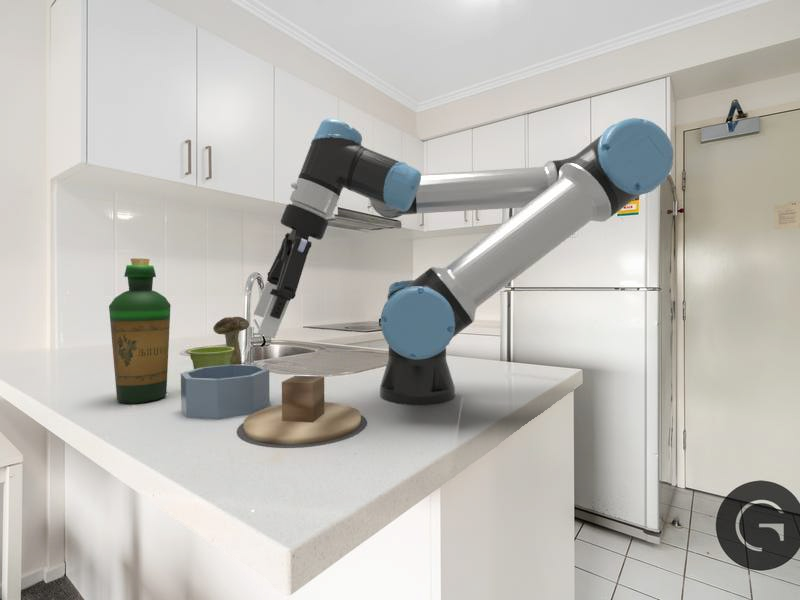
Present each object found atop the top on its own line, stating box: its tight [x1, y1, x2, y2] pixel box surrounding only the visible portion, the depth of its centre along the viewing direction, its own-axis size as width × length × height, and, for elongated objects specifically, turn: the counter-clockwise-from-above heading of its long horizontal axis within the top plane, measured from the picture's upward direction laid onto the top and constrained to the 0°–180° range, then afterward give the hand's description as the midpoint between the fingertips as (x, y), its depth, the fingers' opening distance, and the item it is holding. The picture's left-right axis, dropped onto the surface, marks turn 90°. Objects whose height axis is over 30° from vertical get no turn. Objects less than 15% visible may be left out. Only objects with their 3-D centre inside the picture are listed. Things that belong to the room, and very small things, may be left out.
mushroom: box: [212, 316, 250, 365], centre depth 110 cm, size 9×9×15 cm
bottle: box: [108, 258, 172, 405], centre depth 86 cm, size 11×11×28 cm
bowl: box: [180, 364, 271, 421], centre depth 78 cm, size 14×14×7 cm
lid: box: [243, 375, 362, 445], centre depth 68 cm, size 18×18×7 cm
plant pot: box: [187, 346, 234, 370], centre depth 95 cm, size 9×9×9 cm
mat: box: [236, 414, 368, 449], centre depth 68 cm, size 20×20×1 cm
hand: (263, 325), depth 74 cm, fingers open, 13 cm apart
